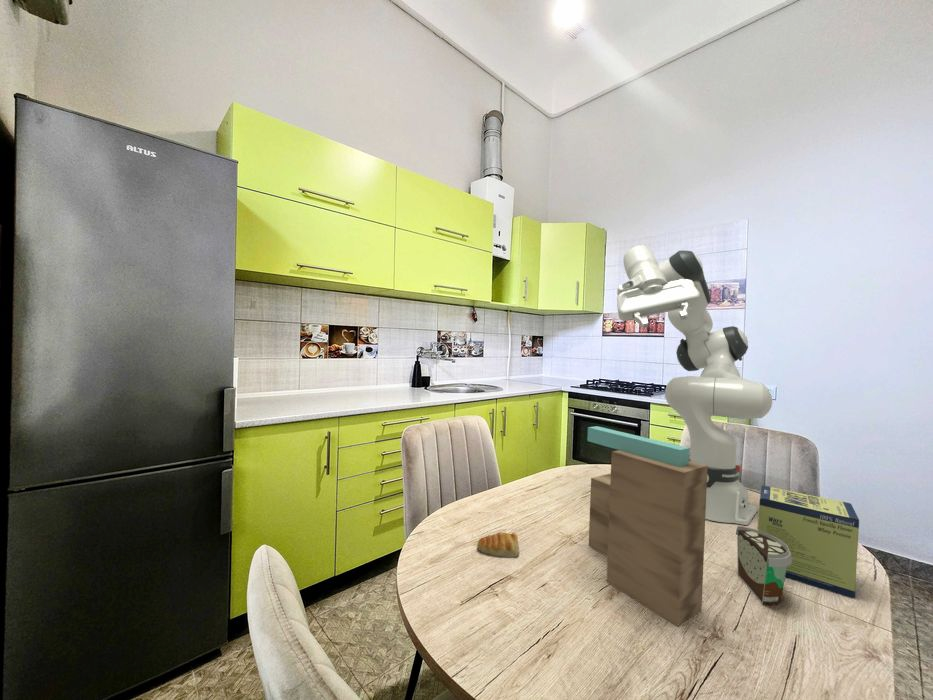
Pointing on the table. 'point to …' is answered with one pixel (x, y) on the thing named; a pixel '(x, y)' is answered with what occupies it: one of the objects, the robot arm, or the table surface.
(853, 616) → the table surface
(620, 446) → the teal block
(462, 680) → the table surface
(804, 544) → the protein box
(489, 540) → the pastry
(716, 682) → the table surface
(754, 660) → the table surface
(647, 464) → the walnut stand
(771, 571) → the food container
